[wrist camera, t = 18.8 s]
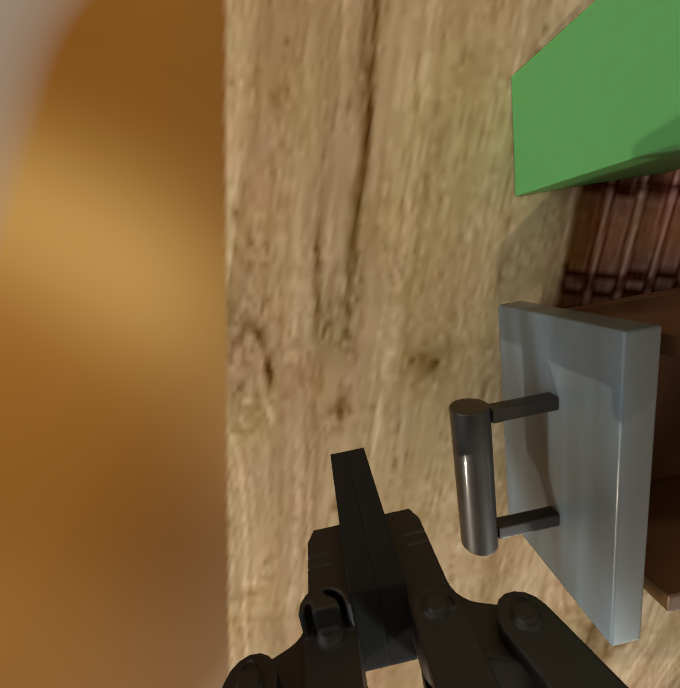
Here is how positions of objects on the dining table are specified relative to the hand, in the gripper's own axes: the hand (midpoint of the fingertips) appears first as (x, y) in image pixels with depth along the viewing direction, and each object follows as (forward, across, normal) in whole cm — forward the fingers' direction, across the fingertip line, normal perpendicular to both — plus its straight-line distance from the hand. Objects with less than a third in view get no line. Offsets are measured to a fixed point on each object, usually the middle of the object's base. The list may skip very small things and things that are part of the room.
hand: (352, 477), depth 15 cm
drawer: (+2, +14, 0) cm, 14 cm away
